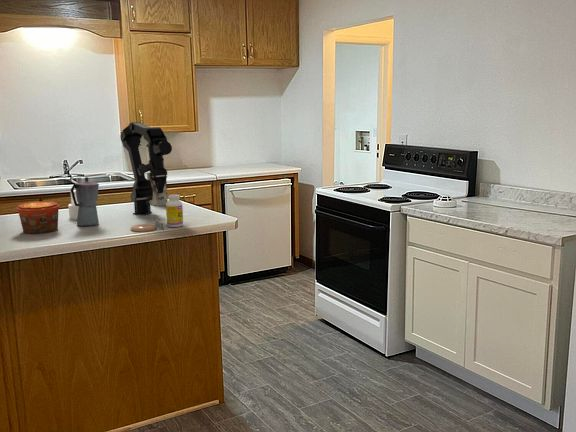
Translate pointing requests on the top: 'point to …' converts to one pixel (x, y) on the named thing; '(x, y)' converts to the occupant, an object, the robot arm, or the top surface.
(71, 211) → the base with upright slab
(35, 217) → the food container
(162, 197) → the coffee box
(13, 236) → the top surface
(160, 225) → the low wall
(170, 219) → the supplement bottle
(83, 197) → the moka pot
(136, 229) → the coaster
